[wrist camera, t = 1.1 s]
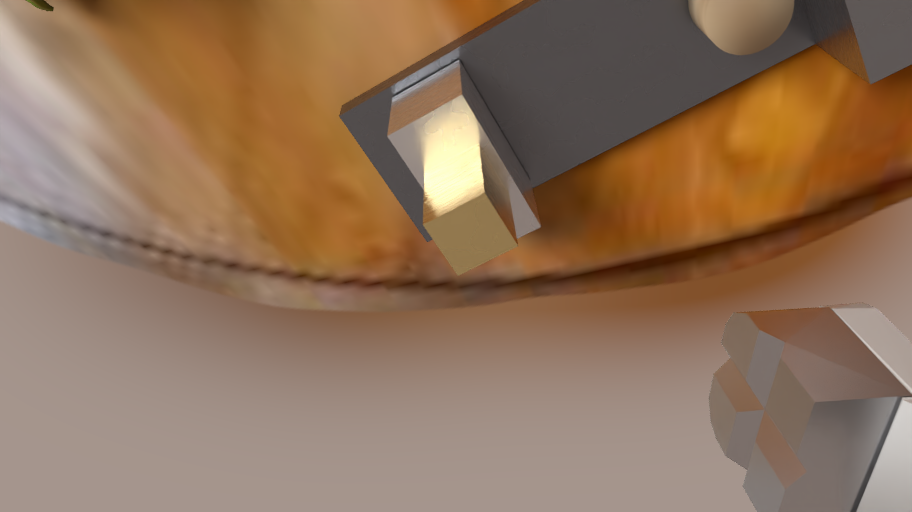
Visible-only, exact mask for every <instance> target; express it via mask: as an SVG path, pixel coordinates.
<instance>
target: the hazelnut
mask: <svg viewBox="0 0 912 512" xmlns="http://www.w3.org/2000/svg"><path fill="white" fill-rule="evenodd" d="M688 7H689V12H690V15H691V18H692V20H693V22H694V23H695V24H696V26H697V27H698V28H699V29H700V30H701V31H702V32H703V33H704V34H705V35H706V36H707V37H708V38H709V39H710V40H711V41H712V42H713V43H714V44H715V45H716V46H717V47H719V48H720V49H721V50H723V51H725V52H727V53H730V54H734V55H748V54H753V53H756V52H759V51H761V50H764V49H765V48H767V47H769V46H770V45H771V44H773V43H774V42H775V41H776V40H777V39H778V38H779V37H780V36H781V35H782V34H783V32H784V31H785V30H786V28H787V26H788V24H789V22H790V20H791V18H792V14H793V9H794V0H688Z"/></svg>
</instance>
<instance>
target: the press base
mask: <svg viewBox="0 0 912 512" xmlns="http://www.w3.org/2000/svg"><path fill="white" fill-rule="evenodd" d="M814 44H816V45H817V46H819V47H820V48H822V49H823V50H824V51H826V52H827V53H828V54H830V55H831V56H832V57H834V58H835V59H837V60H838V61H839V62H841V63H842V64H843V65H845V66H846V67H847V68H849V69H850V70H852V71H853V72H854V73H856V74H857V75H858V76H860V77H861V78H862V79H864V80H865V81H867V82H868V83H869V84H872V83H875V82H877V81H879V80H881V79H883V78H885V77H887V76H889V75H891V74H893V73H895V72H897V71H899V70H901V69H903V68H905V67H907V66H909V65H911V64H912V0H794V9H793V14H792V18H791V20H790V22H789V24H788V26H787V28H786V30H785V31H784V32H783V34H782V35H781V36H780V37H779V38H778V39H777V40H776V41H775V42H774V43H773V44H771V45H770V46H769V47H767V48H765V49H764V50H761V51H759V52H756V53H753V54H748V55H734V54H730V53H727V52H725V51H723V50H721V49H720V48H719V47H717V46H716V45H715V44H714V43H713V42H712V41H711V40H710V39H709V38H708V37H707V36H706V35H705V34H704V33H703V32H702V31H701V30H700V29H699V28H698V27H697V26H696V24H695V23H694V22H693V20H692V18H691V15H690V12H689V7H688V0H524V1H522V2H520V3H519V4H517V5H515V6H513V7H512V8H510V9H508V10H506V11H505V12H503V13H501V14H500V15H498V16H496V17H494V18H493V19H491V20H489V21H487V22H486V23H484V24H482V25H481V26H479V27H477V28H475V29H474V30H472V31H470V32H468V33H467V34H465V35H463V36H462V37H460V38H458V39H456V40H455V41H453V42H451V43H449V44H448V45H446V46H444V47H443V48H441V49H439V50H437V51H436V52H434V53H432V54H430V55H429V56H427V57H425V58H424V59H422V60H420V61H418V62H417V63H415V64H413V65H411V66H410V67H408V68H406V69H405V70H403V71H401V72H399V73H398V74H396V75H394V76H392V77H391V78H389V79H387V80H386V81H384V82H382V83H380V84H379V85H377V86H375V87H373V88H372V89H370V90H368V91H367V92H365V93H363V94H361V95H360V96H358V97H356V98H354V99H353V100H351V101H349V102H348V103H346V104H344V105H342V108H341V111H340V115H339V116H340V118H341V119H342V121H343V122H344V124H345V125H346V126H347V128H348V129H349V131H350V132H351V134H352V135H353V136H354V138H355V139H356V141H357V142H358V144H359V145H360V147H361V148H362V149H363V151H364V152H365V154H366V155H367V157H368V158H369V159H370V161H371V162H372V164H373V165H374V167H375V168H376V169H377V171H378V172H379V174H380V175H381V177H382V178H383V179H384V181H385V182H386V184H387V185H388V187H389V188H390V189H391V191H392V192H393V194H394V195H395V197H396V198H397V199H398V201H399V202H400V204H401V205H402V207H403V208H404V209H405V211H406V212H407V214H408V215H409V217H410V218H411V219H412V221H413V222H414V224H415V225H416V227H417V228H418V230H419V231H420V232H421V234H422V235H423V237H424V238H425V240H426V241H427V242H428V241H430V240H432V237H431V236H430V235H429V233H428V232H427V230H426V229H425V227H424V226H423V201H424V190H423V189H422V187H421V186H420V184H419V183H418V181H417V180H416V178H415V177H414V175H413V174H412V172H411V171H410V169H409V168H408V166H407V165H406V163H405V162H404V160H403V159H402V157H401V156H400V154H399V153H398V151H397V150H396V148H395V147H394V145H393V144H392V143H391V141H390V140H389V138H388V137H387V134H388V127H389V119H390V111H391V104H392V98H393V97H394V96H396V95H398V94H400V93H401V92H403V91H405V90H407V89H408V88H410V87H412V86H414V85H415V84H417V83H419V82H421V81H422V80H424V79H426V78H428V77H429V76H431V75H433V74H435V73H436V72H438V71H440V70H442V69H443V68H445V67H447V66H449V65H450V64H452V63H454V62H456V61H457V60H460V62H461V63H462V65H463V67H464V69H465V70H466V72H467V74H468V75H469V77H470V79H471V80H472V82H473V84H474V86H475V87H476V89H477V91H478V92H479V94H480V96H481V97H482V99H483V101H484V103H485V104H486V106H487V108H488V109H489V111H490V113H491V115H492V116H493V118H494V120H495V121H496V123H497V125H498V126H499V128H500V130H501V132H502V133H503V135H504V137H505V138H506V140H507V142H508V143H509V145H510V147H511V149H512V150H513V152H514V154H515V155H516V157H517V159H518V161H519V162H520V164H521V166H522V167H523V169H524V171H525V172H526V174H527V176H528V178H529V179H530V181H531V184H532V188H534V187H536V186H538V185H540V184H542V183H544V182H546V181H548V180H550V179H552V178H554V177H556V176H558V175H560V174H562V173H564V172H566V171H567V170H569V169H571V168H573V167H575V166H577V165H579V164H581V163H583V162H585V161H587V160H589V159H591V158H593V157H595V156H597V155H599V154H601V153H603V152H605V151H607V150H609V149H611V148H612V147H614V146H616V145H618V144H620V143H622V142H624V141H626V140H628V139H630V138H632V137H634V136H636V135H638V134H640V133H642V132H644V131H646V130H648V129H650V128H652V127H654V126H656V125H658V124H659V123H661V122H663V121H665V120H667V119H669V118H671V117H673V116H675V115H677V114H679V113H681V112H683V111H685V110H687V109H689V108H691V107H693V106H695V105H697V104H699V103H701V102H703V101H705V100H706V99H708V98H710V97H712V96H714V95H716V94H718V93H720V92H722V91H724V90H726V89H728V88H730V87H732V86H734V85H736V84H738V83H740V82H742V81H744V80H746V79H748V78H750V77H751V76H753V75H755V74H757V73H759V72H761V71H763V70H765V69H767V68H769V67H771V66H773V65H775V64H777V63H779V62H781V61H783V60H785V59H787V58H789V57H791V56H793V55H795V54H797V53H798V52H800V51H802V50H804V49H806V48H808V47H810V46H812V45H814Z"/></svg>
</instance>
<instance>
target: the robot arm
mask: <svg viewBox="0 0 912 512" xmlns="http://www.w3.org/2000/svg"><path fill="white" fill-rule="evenodd" d="M721 343H722V345H723V347H724V348H725V350H726V351H727V353H728V355H729V356H730V359H729V360H728V361H727V362H726V363H724V365H722V366H721V368H719V369H718V370H717V371H716V372H715V373H714V375H713V380H712V385H711V390H710V395H709V406H710V418H711V424H712V427H713V430H714V433H715V436H716V439H717V441H718V443H719V445H720V446H721V448H722V450H723V452H724V454H725V456H727V457H728V458H730V459H731V460H733V461H734V462H736V463H738V464H739V465H740V466H742V467H744V468H745V469H747V473H746V477H745V480H744V484H743V488H744V489H745V491H746V493H747V495H748V496H749V498H750V500H751V501H752V503H753V505H754V507H755V508H756V510H757V512H912V342H911V341H910V340H909V339H908V338H907V337H906V336H905V335H904V334H903V333H901V332H900V331H899V330H898V329H897V328H896V327H895V326H894V325H893V324H892V323H891V322H890V321H889V320H888V319H887V318H886V317H885V316H884V315H883V314H882V313H881V312H880V311H879V310H878V309H877V308H875V307H873V306H870V305H868V304H865V303H852V304H840V305H827V306H820V307H818V308H803V309H786V310H770V311H755V312H736V313H733V315H732V316H731V317H730V319H729V320H728V322H727V323H726V326H725V330H724V334H723V338H722V342H721Z"/></svg>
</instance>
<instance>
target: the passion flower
mask: <svg viewBox="0 0 912 512" xmlns="http://www.w3.org/2000/svg"><path fill="white" fill-rule="evenodd" d="M26 1H28V2H30V3H31V4H32V5H34V6H35V7H37V8H39V9H42V10H46V11H53V9H54V7H52V6H50V5H49V4H48V3H47V2H46V1H44V0H26Z"/></svg>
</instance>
